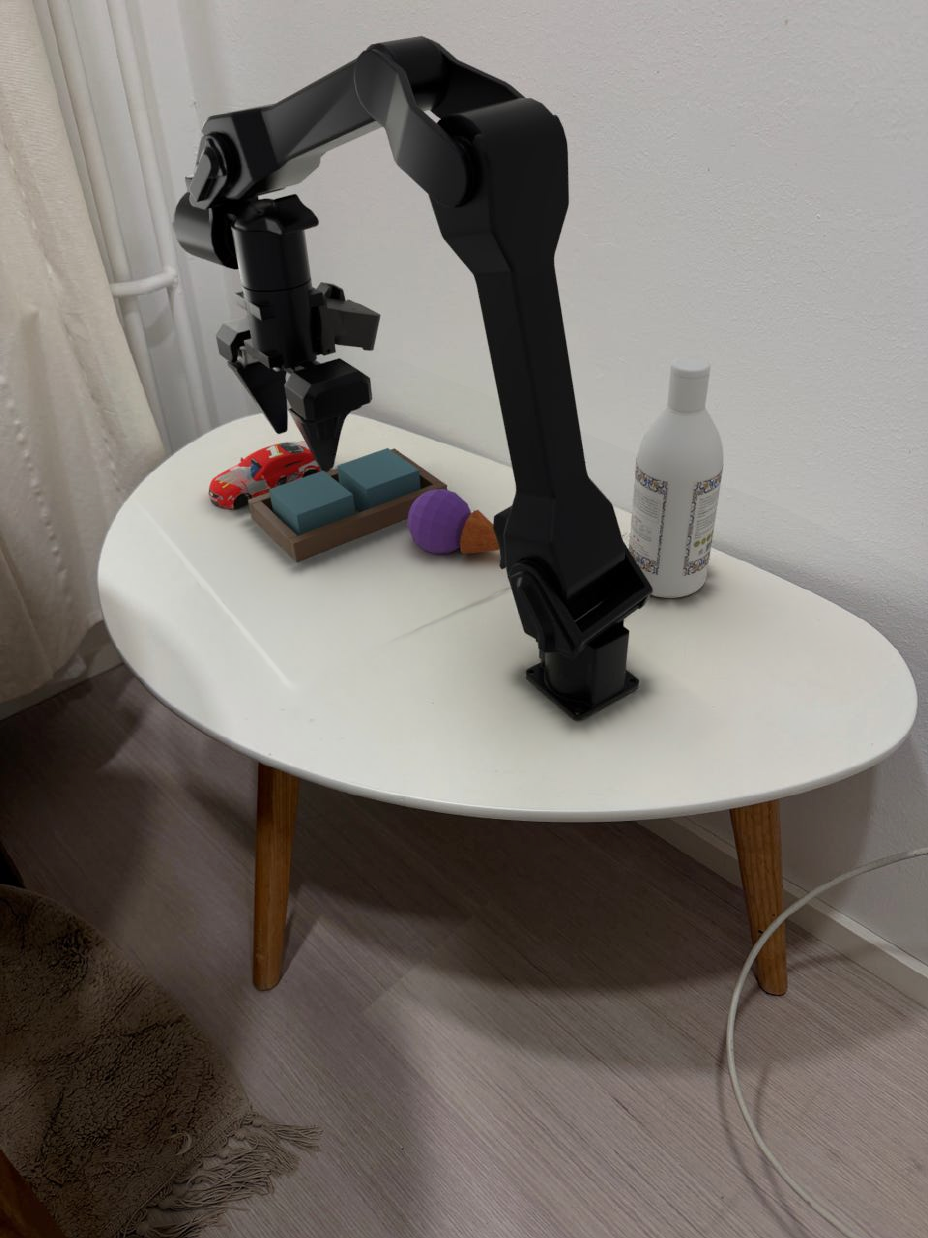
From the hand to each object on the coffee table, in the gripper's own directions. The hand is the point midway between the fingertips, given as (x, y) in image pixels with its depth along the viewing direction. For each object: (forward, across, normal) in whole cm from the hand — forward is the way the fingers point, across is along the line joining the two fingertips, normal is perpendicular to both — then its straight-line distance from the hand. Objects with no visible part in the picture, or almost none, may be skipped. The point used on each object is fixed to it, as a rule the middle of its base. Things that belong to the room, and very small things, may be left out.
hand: (303, 450), depth 85 cm
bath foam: (+9, -27, -21) cm, 35 cm away
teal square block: (+8, 0, -8) cm, 11 cm away
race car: (+9, +10, 0) cm, 13 cm away
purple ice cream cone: (+9, -17, -11) cm, 22 cm away
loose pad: (+8, 0, 0) cm, 8 cm away
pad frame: (+8, 0, -4) cm, 9 cm away
